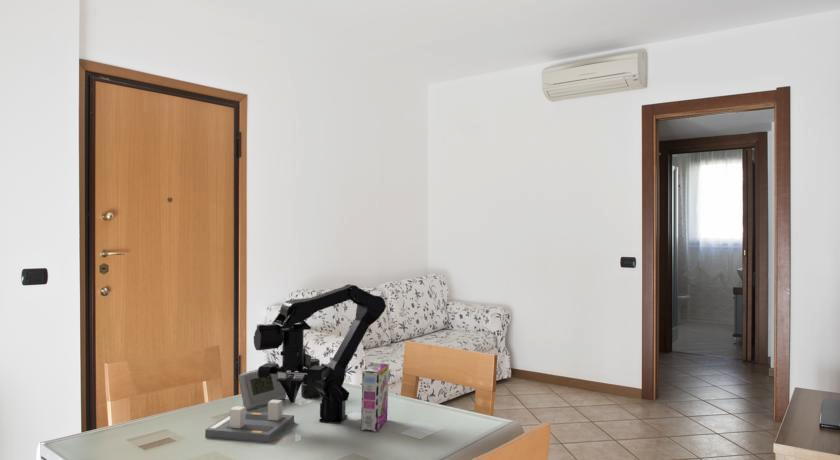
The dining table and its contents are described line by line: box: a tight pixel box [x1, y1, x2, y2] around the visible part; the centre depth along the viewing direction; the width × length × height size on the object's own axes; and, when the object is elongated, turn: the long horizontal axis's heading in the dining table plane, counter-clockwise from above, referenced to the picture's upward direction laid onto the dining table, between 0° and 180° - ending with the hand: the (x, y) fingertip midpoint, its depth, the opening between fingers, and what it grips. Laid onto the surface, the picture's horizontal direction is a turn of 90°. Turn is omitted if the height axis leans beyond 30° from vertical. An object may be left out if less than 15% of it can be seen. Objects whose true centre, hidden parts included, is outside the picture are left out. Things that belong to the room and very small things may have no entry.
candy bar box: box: [360, 362, 390, 433], centre depth 160 cm, size 11×5×16 cm, turn 168°
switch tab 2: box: [267, 399, 283, 420], centre depth 158 cm, size 3×3×5 cm
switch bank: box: [204, 411, 295, 444], centre depth 155 cm, size 18×16×2 cm
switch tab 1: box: [229, 405, 247, 428], centre depth 152 cm, size 3×3×5 cm
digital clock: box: [238, 369, 287, 410], centre depth 179 cm, size 16×9×11 cm, turn 133°
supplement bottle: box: [300, 358, 322, 400], centre depth 188 cm, size 7×7×12 cm
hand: (292, 402), depth 157 cm, fingers closed
